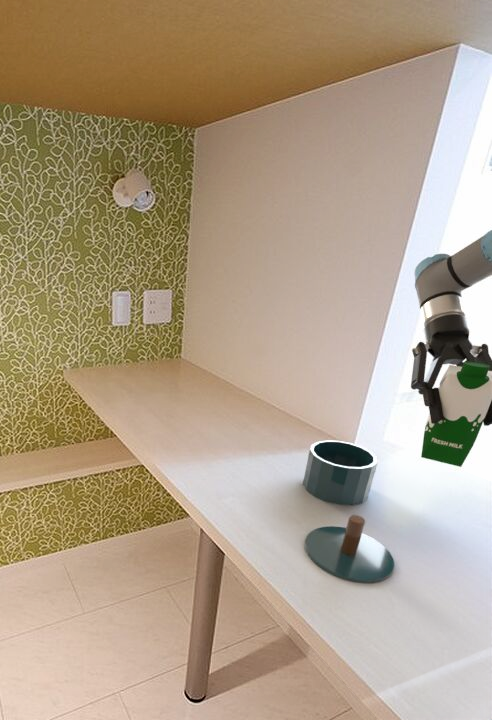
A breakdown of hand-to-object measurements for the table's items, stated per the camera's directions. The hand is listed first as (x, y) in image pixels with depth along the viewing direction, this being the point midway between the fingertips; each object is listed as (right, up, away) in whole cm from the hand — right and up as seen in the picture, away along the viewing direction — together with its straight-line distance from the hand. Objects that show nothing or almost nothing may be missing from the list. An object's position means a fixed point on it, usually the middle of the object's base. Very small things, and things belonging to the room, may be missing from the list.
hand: (464, 422), depth 84 cm
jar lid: (-25, -24, -5) cm, 35 cm away
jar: (-18, -15, +15) cm, 28 cm away
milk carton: (0, -7, +7) cm, 10 cm away
